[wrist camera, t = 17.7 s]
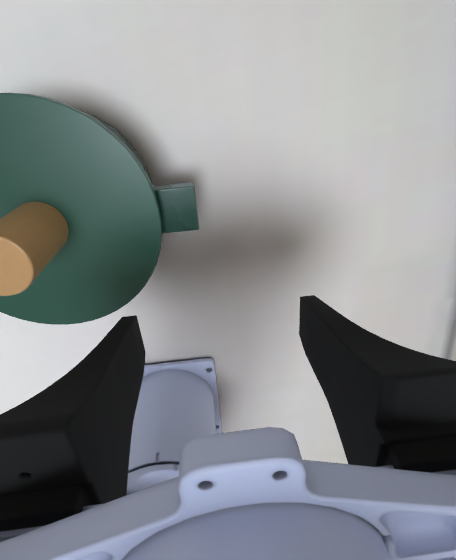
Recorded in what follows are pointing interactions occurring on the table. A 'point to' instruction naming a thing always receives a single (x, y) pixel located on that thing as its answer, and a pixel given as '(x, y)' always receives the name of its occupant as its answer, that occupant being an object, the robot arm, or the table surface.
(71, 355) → the table surface
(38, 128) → the lid
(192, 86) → the table surface
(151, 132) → the table surface
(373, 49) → the table surface
